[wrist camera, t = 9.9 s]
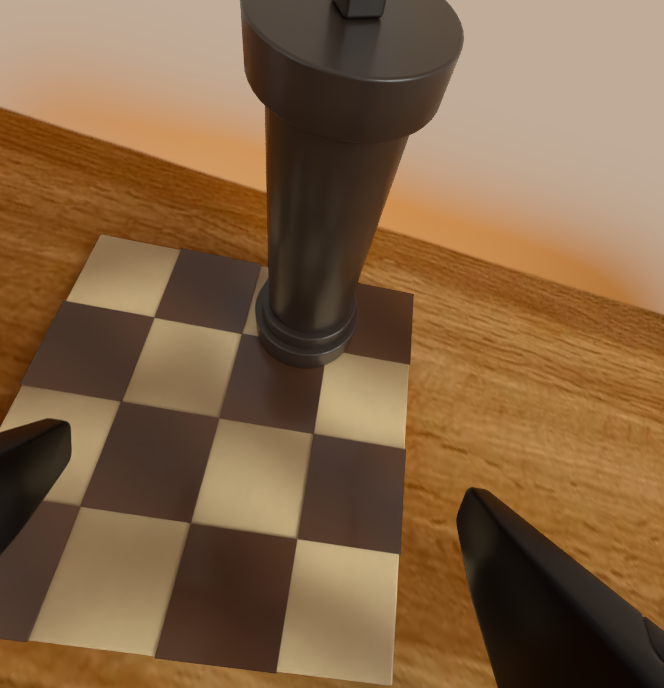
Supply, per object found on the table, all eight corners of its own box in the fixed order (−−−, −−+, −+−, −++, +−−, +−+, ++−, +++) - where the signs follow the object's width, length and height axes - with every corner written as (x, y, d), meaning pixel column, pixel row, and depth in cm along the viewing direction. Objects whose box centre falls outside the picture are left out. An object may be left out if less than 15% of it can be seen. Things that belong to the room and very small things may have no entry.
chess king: (366, 354, 18) (584, -41, 5) (271, 381, 17) (267, -47, 4) (333, 275, 20) (443, -170, 7) (245, 294, 19) (185, -199, 6)
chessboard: (386, 678, 14) (393, 688, 13) (-83, 618, 13) (-107, 625, 12) (408, 302, 21) (413, 294, 20) (106, 243, 20) (99, 231, 19)
